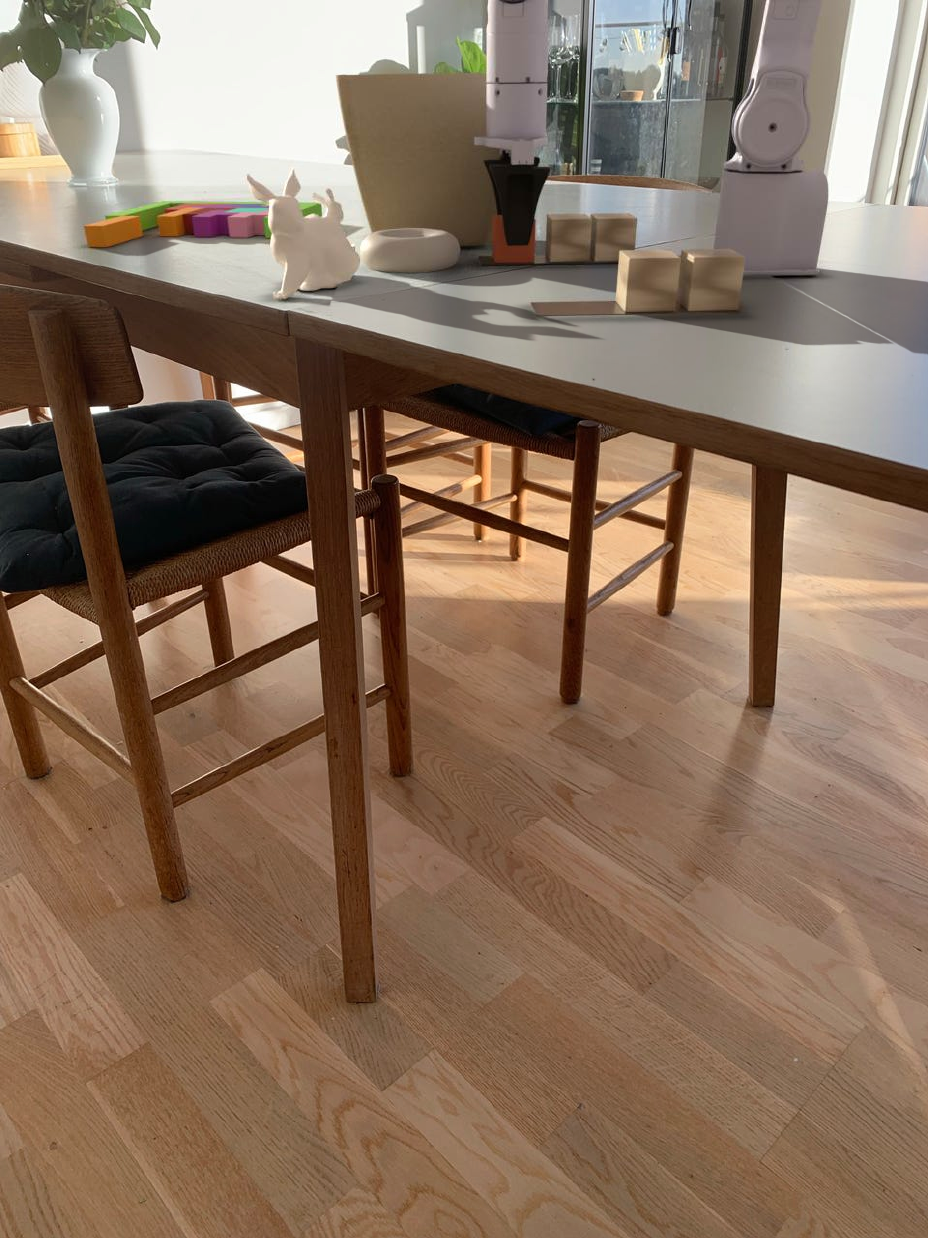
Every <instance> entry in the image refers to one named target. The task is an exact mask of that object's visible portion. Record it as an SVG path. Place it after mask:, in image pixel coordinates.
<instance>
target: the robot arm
mask: <svg viewBox="0 0 928 1238" xmlns="http://www.w3.org/2000/svg"><path fill="white" fill-rule="evenodd" d="M487 2H488V3H487V25H486V73H487V83H498V84H487V97H486V137H474V144H475V145H484V146H485V147H491V148H499V149H500V154H501V155H502V157H500V159H499V160H484V164H485V166H486V169H487V171H488V173H489V176H490V179H491V182H492V186H493V190H494V195H495V201H496V208H497V215H502V218H503V227H504V234H505V239H506V242H507V245H508V246H526V245H528V244H529V241H530V237H531V233H532V228H533V223H534V219H536V218H535V217H536V213H537V208H538V203H539V201H540V200H539V199H540V197H541V193H542V191H543V189H544V186H545V184H546V182H547V180H548V177H550V173H551V170H552V169H551V167H550V166H539V165H540V164H541V158H540V157H539V156H535V150H537V149H542V148H544V147H547V146H548V145H549V143H548V142H549V141H548V140H549V137H548V136H547V111H548V110H547V109H548V108H547V107H548V74H549V45H550V44H549V41H550V25H549V23H548V15H549V12H548V11H549V0H487ZM822 3H823V0H766V1H765V5H764V10H763V17H762V22H761V28H760V33H759V37H758V44H757V48H756V52H755V57H754V61H753V65H752V69H751V74H750V81H749V85H748V87H747V91H746V93H745V95H744V97H743V98H742V100H741V101H740V103H739V104H738V105H737V107H736V109H735V111H734V113H733V117H732V122H731V136H732V140H733V142H734V144H735V147H736V148H737V150H738V151H736V152H735V153H734V155H733V156H732V158H731V159H729V160H728V161H725V162H723V167H722V168H723V170H722V177H721V185H720V193H719V200H718V210H717V217H716V225H715V233H714V240H713V241H714V242H713V249H732V250H734V251H735V252H737V253H739V254H741V255H743V256H745V257H746V258H745V265H744V272H743V276H744V275H748V276H749V275H751V276H752V275H768V276H770V277H778V276H779V277H780V276H781V277H784V276H785V277H786V276H788V277H789V276H790V277H791V276H818V275H819V273H820V270H819V269H818V268H817V267H818V261H819V255H820V250H821V244H822V239H823V233H824V228H825V221H826V215H827V210H828V206H829V181H828V178H827V176H826V174H825V172H823V170H819V169H805V165H806V161H804V160H802V159H800V158H799V156H798V153H800V151H801V150H802V148H803V147H804V146H805V144H806V142H807V140H808V137H809V134H810V130H811V126H812V115H811V109H810V106H809V101H808V95H807V94H808V85H809V81H810V76H811V68H812V56H813V47H814V42H815V41H814V40H815V37H816V32H817V27H818V22H819V17H820V12H821V7H822Z"/></svg>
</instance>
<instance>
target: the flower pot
mask: <svg viewBox="0 0 928 1238" xmlns="http://www.w3.org/2000/svg"><path fill="white" fill-rule="evenodd" d="M335 81H336V87H337V93H338V100H339V106H340V111H341V117H342V122H343V127H344V132H345V137H346V141H347V146H348V151H349V155H350V159H351V163H352V168H353V172H354V176H355V180H356V184H357V187H358V192H359V195H360V199H361V203H362V205H363V210H364V213H365V216H366V219H367V223H368V226H369V229H370V232H371V233H374V232H377V231H383V230H390V229H403V228H425V229H437V230H443V231H446V232H448V233H450V234H452V235H454V236H455V237H456V238H457V240H458V242H459V244H460V247H473V246H474V247H475V246H476V247H479V246H488V245H490V243H491V242H492V215H497V208H496V201H495V195H494V190H493V186H492V182H491V179H490V176H489V173H488V171H487V169H486V166H485V164H484V160H499V159H500V157H502V155H501V154H500V149H499V148H491V147H485V146H484V145H475V144H474V137H486V97H487V84H498V83H487V72H446V73H445V72H439V73H438V72H436V73H435V72H434V73H427V72H424V73H423V72H422V73H374V74H372V73H369V74H368V73H367V74H336V75H335ZM371 233H370V234H371Z"/></svg>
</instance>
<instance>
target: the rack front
mask: <svg viewBox="0 0 928 1238" xmlns="http://www.w3.org/2000/svg"><path fill="white" fill-rule="evenodd" d="M745 258H746V257H745V256H743V255H741V254H739V253H737V252H735V251H734V250H732V249H714V248H686V249H685V248H684V249H681V251H680V256H679V255H677V254H676V253H674V252H673V251H671V250H670V249H635V250H620V251H619V264H618V265H617V267H618V268H617V278H616V280H617V281H616V290H615V291H616V293H615V295H616V296H615V300H591V301H590V300H587V301H586V300H585V301H584V300H583V301H582V300H581V301H580V300H579V301H530V302H529V303H530V306H531V307H532V310H533V312H534V313H535V316H536V317H566V316H567V317H570V316H571V317H573V316H621V315H622V316H625V315H627V316H629V315H633V316H634V315H681V314H683V315H685V314H687V315H688V314H692V315H693V314H740V313H741V312H740V311H739V307H740V302H741V301H740V299H741V293H742V284H743V278H744V275H743V272H744V265H745Z"/></svg>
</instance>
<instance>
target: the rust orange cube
mask: <svg viewBox="0 0 928 1238" xmlns="http://www.w3.org/2000/svg"><path fill="white" fill-rule="evenodd" d="M535 251H536V218H534V223H533V228H532V233H531V237H530V241H529V244H528V245H526V246H508V245H507V242H506V239H505V234H504V227H503V218H502V215H492V238H491V256H492V257H493V260H494V262H495V263H534V258H535V255H536V252H535Z"/></svg>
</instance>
